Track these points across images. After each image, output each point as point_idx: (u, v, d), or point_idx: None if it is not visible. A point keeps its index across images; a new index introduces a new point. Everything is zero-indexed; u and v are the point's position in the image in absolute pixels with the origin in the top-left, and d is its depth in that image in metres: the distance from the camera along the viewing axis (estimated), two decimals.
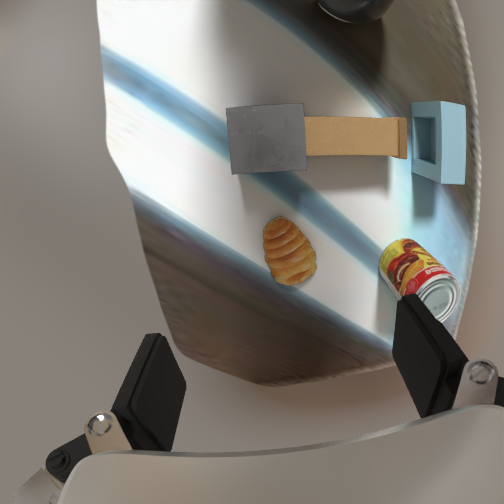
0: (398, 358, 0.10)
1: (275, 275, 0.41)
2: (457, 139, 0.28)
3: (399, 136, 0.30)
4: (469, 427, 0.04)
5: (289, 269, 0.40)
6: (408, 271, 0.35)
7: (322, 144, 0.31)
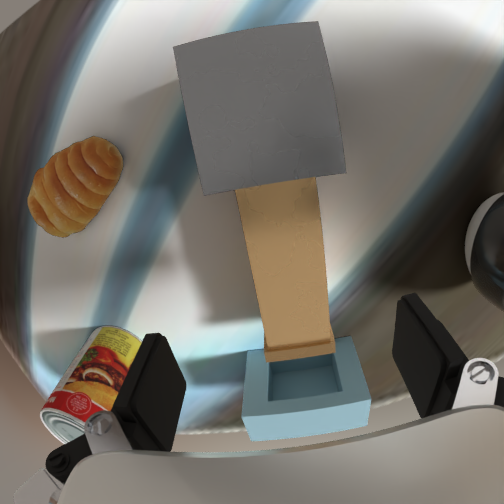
0: (398, 358, 0.10)
1: (35, 177, 0.19)
2: (314, 426, 0.21)
3: (302, 346, 0.20)
4: (469, 427, 0.04)
5: (44, 197, 0.19)
6: (99, 388, 0.21)
7: (262, 217, 0.17)
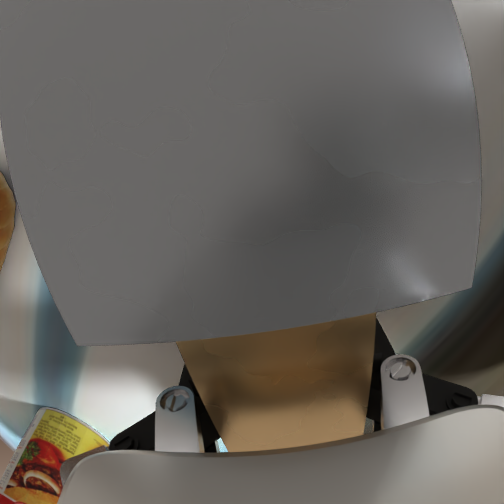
0: None
1: None
2: None
3: None
4: (469, 427, 0.04)
5: None
6: (44, 499, 0.10)
7: (237, 368, 0.07)
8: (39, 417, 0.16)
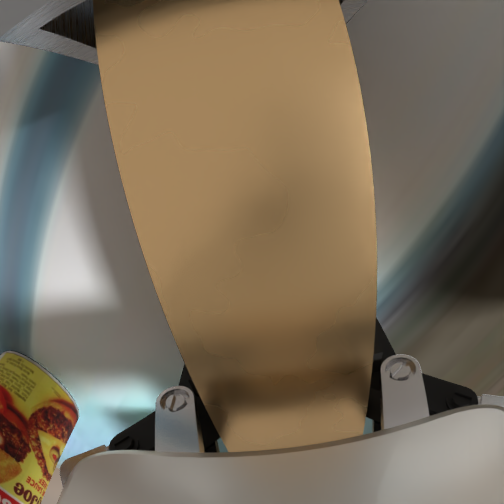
0: None
1: None
2: None
3: None
4: (469, 427, 0.04)
5: None
6: None
7: (237, 368, 0.07)
8: None
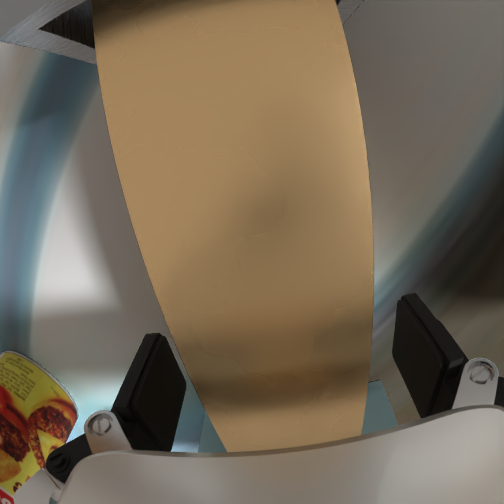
0: (398, 358, 0.10)
1: None
2: None
3: None
4: (469, 427, 0.04)
5: None
6: None
7: (235, 368, 0.07)
8: None
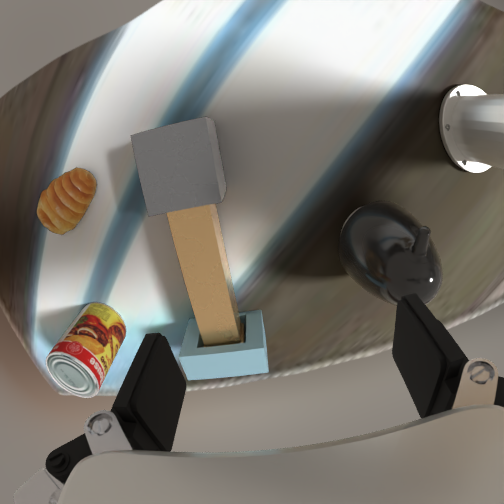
0: (398, 358, 0.10)
1: (41, 196, 0.31)
2: (229, 368, 0.34)
3: None
4: (469, 427, 0.04)
5: (48, 208, 0.31)
6: (88, 339, 0.32)
7: (195, 280, 0.32)
8: (86, 307, 0.38)
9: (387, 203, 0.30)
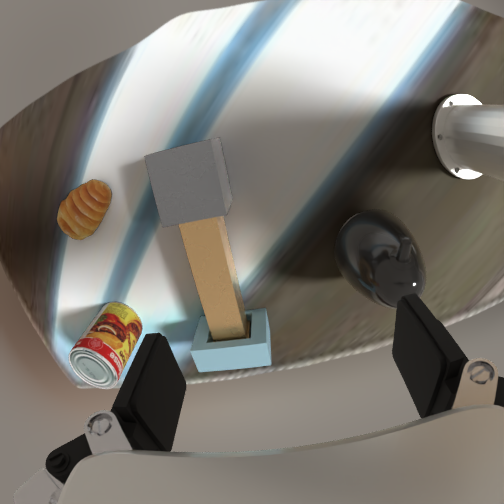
0: (398, 358, 0.10)
1: (60, 206, 0.35)
2: (235, 361, 0.38)
3: None
4: (469, 427, 0.04)
5: (68, 217, 0.35)
6: (108, 336, 0.37)
7: (205, 283, 0.36)
8: (105, 306, 0.43)
9: (378, 212, 0.33)
